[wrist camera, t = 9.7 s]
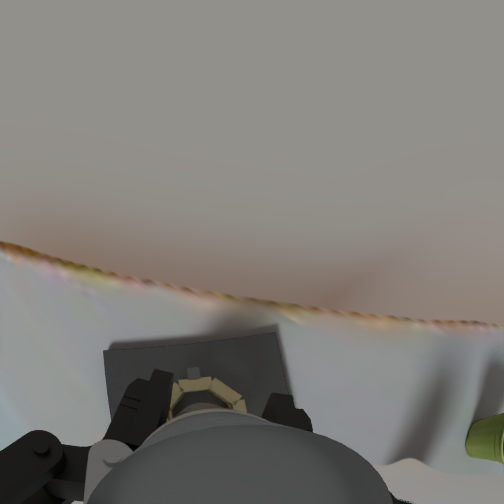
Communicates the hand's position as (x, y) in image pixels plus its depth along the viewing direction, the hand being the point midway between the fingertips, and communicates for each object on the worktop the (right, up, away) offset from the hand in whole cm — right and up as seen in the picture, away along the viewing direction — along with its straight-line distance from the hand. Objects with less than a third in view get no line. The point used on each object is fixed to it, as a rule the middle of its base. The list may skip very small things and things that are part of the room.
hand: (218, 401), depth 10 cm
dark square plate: (-4, -11, +17) cm, 20 cm away
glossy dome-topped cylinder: (-2, -5, +6) cm, 8 cm away
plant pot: (+35, -23, +18) cm, 46 cm away
